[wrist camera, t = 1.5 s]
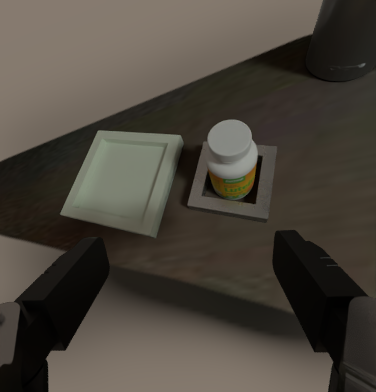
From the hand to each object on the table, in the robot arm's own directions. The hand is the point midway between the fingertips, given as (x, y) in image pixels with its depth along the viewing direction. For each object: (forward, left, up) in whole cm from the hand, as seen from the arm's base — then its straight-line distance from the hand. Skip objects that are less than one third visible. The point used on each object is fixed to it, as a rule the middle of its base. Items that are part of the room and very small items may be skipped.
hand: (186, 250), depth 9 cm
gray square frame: (-11, 0, -16) cm, 19 cm away
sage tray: (-9, -16, -16) cm, 24 cm away
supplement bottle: (-11, 0, -16) cm, 19 cm away
